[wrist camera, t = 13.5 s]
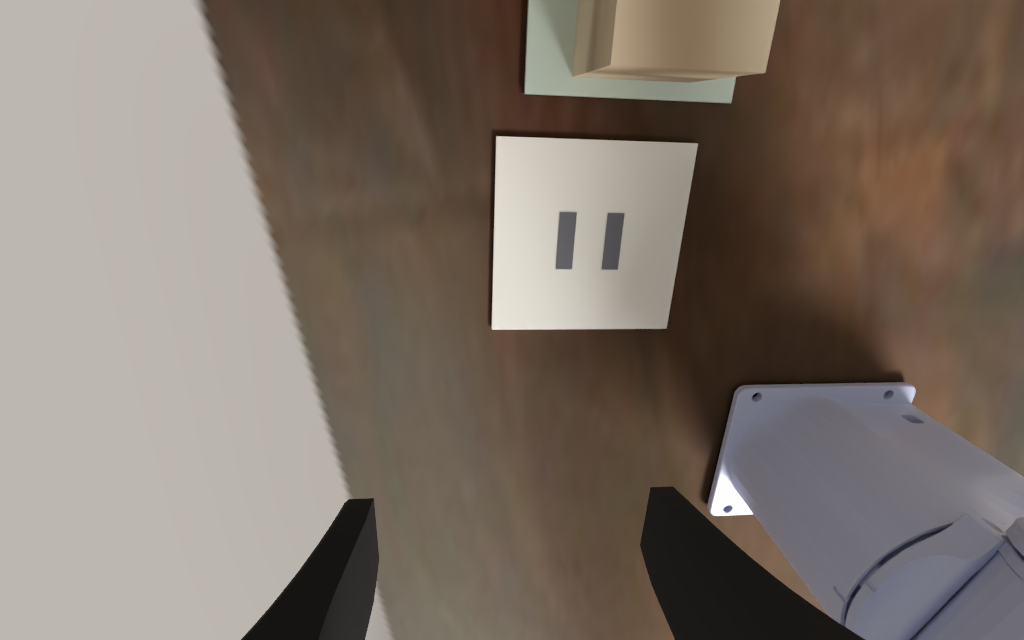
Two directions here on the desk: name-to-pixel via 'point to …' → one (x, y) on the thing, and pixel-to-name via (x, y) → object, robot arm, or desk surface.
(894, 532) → the robot arm
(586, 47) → the maple block
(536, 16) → the sage coaster
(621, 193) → the tile
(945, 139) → the desk surface
